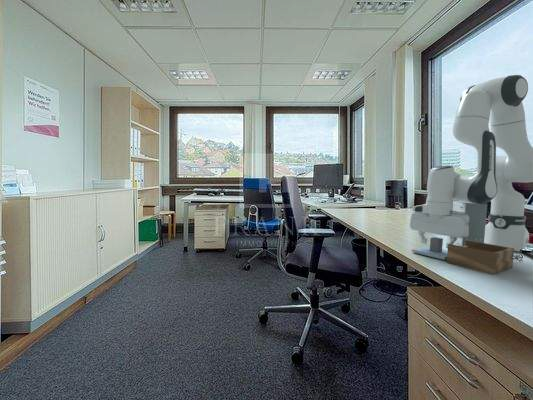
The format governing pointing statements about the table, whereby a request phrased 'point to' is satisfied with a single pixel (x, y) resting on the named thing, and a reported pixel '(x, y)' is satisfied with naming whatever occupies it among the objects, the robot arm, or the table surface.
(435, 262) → the table surface
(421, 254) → the felt mat
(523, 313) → the table surface
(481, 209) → the hard drive box
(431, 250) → the cover plate
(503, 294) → the table surface
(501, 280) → the table surface
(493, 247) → the walnut box
